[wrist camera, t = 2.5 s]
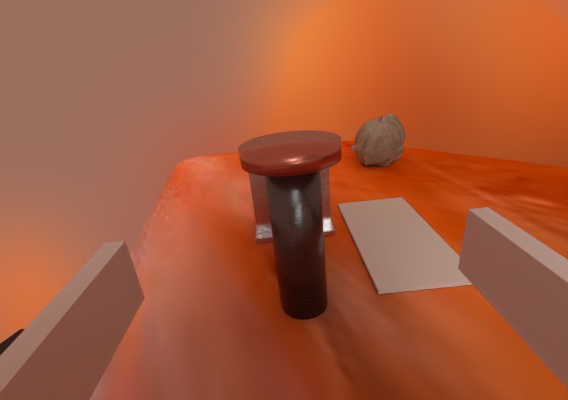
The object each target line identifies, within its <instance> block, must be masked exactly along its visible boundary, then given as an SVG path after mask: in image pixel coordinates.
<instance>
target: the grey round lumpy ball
mask: <svg viewBox="0 0 568 400" xmlns="http://www.w3.org/2000/svg"><path fill="white" fill-rule="evenodd" d="M404 139H405V132H404V128H403V126H402V124H401V123H400V121H399V120H398V118H397V117H396V116H395V115H393V114H388V115H386V116H385V117H384V116H381V117H379V118H378V119H371V120H369V121H368V122H366V123H364V124H363V125H362V126H361V128H360V129H359V131H358V132H357V135H356V137H355V146H353V145H351V149H352V151H356V153H357V155H358V159H359V160H360V161H361V162H362V163H363V164H364V165H366V166H368V165H375V166H380V167H381V166H389V165H390V164H391V162H393V161H394V160H396V159H397V158H399V157H400V156H401V155H402V154H403V151H404V149H403V143H404Z"/></svg>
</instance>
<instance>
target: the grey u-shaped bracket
mask: <svg viewBox="0 0 568 400" xmlns="http://www.w3.org/2000/svg"><path fill="white" fill-rule="evenodd" d="M320 175H321V194H322V212H323V230H324V236H331V235H335V229H334V227H333V224H332V221H331V210H330V186H329V168H327V169H324V170H321V171H320ZM249 179H250V186H251V192H252V199H253V205H254V212H255V218H256V225H257V228H256V243H264V242H273V236H272V229H271V221H270V214H269V206H268V199H267V191H266V184H265V176H260V175H255V174H251V173H249Z"/></svg>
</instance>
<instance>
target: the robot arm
mask: <svg viewBox="0 0 568 400" xmlns="http://www.w3.org/2000/svg"><path fill="white" fill-rule="evenodd" d="M458 269H459V270H460V271H461V272H462V274H463V275H464V276H465V277H466V278H467V279H468V280H469V281H470V282H471V283H472V285H473V286H474V287H475V288H476V289H477V290H478V291H479V292H480V293H481V294H482V295H483V297H484V298H485V299H486V300H487V301H488V302H489V303H490V304H491V305H492V306H493V308H494V309H495V310H496V311H497V312H498V313H499V314H500V315H501V316H502V317H503V319H504V320H505V321H506V322H507V323H508V324H509V325H510V326H511V327H512V328H513V330H514V331H515V332H516V333H517V334H518V335H519V336H520V337H521V338H522V339H523V340H524V342H525V343H526V344H527V345H528V346H529V347H530V348H531V349H532V350H533V351H534V353H535V354H536V355H537V356H538V357H539V358H540V359H541V360H542V361H543V362H544V364H545V365H546V366H547V367H548V368H549V369H550V370H551V371H552V372H553V373H554V375H555V376H556V377H557V378H558V379H559V380H560V381H561V382H562V383H563V384H564V386H565V387H566V388H567V389H568V260H567V259H566V258H564V257H563V256H561V255H560V254H558V253H557V252H555V251H554V250H552V249H551V248H549V247H548V246H546V245H545V244H543V243H542V242H540V241H539V240H537V239H536V238H534V237H532V236H531V235H529V234H528V233H526V232H525V231H523V230H522V229H520V228H519V227H517V226H516V225H514V224H513V223H511V222H510V221H508V220H507V219H505V218H504V217H502V216H501V215H499V214H498V213H496V212H495V211H493V210H492V209H490V208H489V207H486V208H476V209H468V214H467V220H466V226H465V231H464V237H463V243H462V249H461V254H460V260H459V266H458ZM143 299H144V295H143V292H142V289H141V286H140V283H139V280H138V277H137V274H136V271H135V268H134V265H133V262H132V259H131V256H130V253H129V250H128V247H127V245H126V242H125V241H118V242H108V243H105V244H104V245H103V246H102V247H101V248H100V249H99V250H98V251H97V252H96V253H95V254H94V255H93V256H92V258H91V259H90V260H89V261H88V262H87V263H86V264H85V265H84V266H83V267H82V268H81V269H80V271H79V272H78V273H77V274H76V275H75V276H74V277H73V278H72V279H71V280H70V281H69V283H67V285H66V286H65V287H64V288H63V289H62V290H61V291H60V292H59V293H58V294H57V295H56V296H55V297H54V299H53V300H52V301H51V302H50V303H49V304H48V305H47V306H46V307H45V308H44V309H43V310H42V312H41V313H40V314H39V315H38V316H37V317H36V318H35V319H34V320H33V321H32V322H31V323H30V324H29V325H28V327H27V328H26V329H20V330H19V331H17V332H16V333H15V334H13V335H12V336H10V337H9V338H8V339H6V340H5V341H3V342H2V343H1V344H0V400H89V399H90V397H91V395H92V393H93V392H94V390H95V388H96V386H97V384H98V382H99V381H100V379H101V377H102V375H103V373H104V371H105V369H106V368H107V366H108V364H109V362H110V360H111V358H112V357H113V355H114V353H115V351H116V349H117V347H118V346H119V344H120V342H121V340H122V338H123V336H124V334H125V333H126V331H127V329H128V327H129V325H130V323H131V322H132V320H133V318H134V316H135V314H136V312H137V311H138V309H139V307H140V305H141V303H142V301H143Z"/></svg>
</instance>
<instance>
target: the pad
mask: <svg viewBox="0 0 568 400" xmlns="http://www.w3.org/2000/svg"><path fill="white" fill-rule="evenodd" d="M338 208H339V210H340V212H341V214H342V216H343V219H344V221H345V223H346V225H347V227H348V229H349V232H350V234H351V236H352V238H353V240H354V242H355V245H356V247H357V249H358V251H359V253H360V255H361V258H362V260H363V262H364V264H365V266H366V268H367V271H368V273H369V275H370V277H371V279H372V281H373V284H374V286H375V288H376V290H377V292H378V294H386V293H395V292H405V291H415V290H424V289H434V288H444V287H453V286H463V285H472V283H471V282H470V281H469V280H468V279H467V278H466V277H465V276H464V275H463V274H462V272H461V271H460V270H459V269H458V266H459V260H460V257H459V256H458V255H457V253H456V252H455V251H454V250H453V249H452V248H451V247H450V246H449V245H448V244H447V243H446V242H445V241H444V240H443V239H442V238H441V237H440V236H439V235H438V234H437V233H436V232H435V231H434V230H433V229H432V228H431V227H430V226H429V225H428V224H427V222H426V221H425V220H424V219H423V218H422V217H421V216H420V215H419V214H418V213H417V212H416V211H415V210H414V209H413V208H412V207H411V206H410V205H409V204H408V203H407V202H406V201H405V200H404V199H403V198H402V197H398V198H389V199H379V200H370V201H360V202H351V203H341V204H338Z"/></svg>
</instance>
